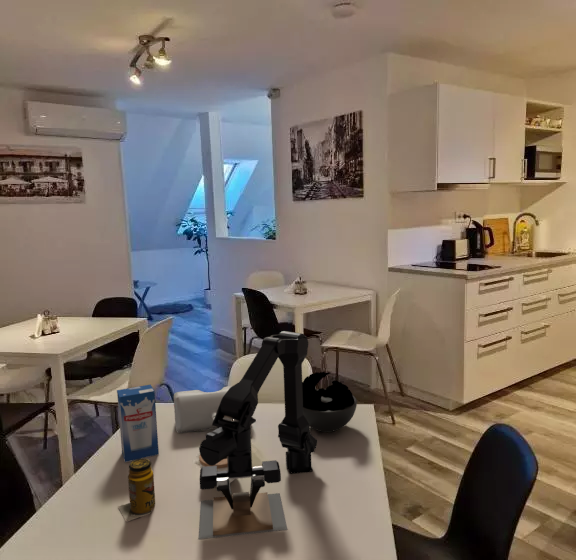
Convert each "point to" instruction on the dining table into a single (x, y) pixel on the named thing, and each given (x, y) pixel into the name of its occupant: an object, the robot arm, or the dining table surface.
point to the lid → (241, 514)
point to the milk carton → (138, 422)
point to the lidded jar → (220, 466)
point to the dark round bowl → (327, 404)
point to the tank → (197, 409)
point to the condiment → (139, 490)
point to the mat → (207, 532)
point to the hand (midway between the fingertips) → (241, 507)
